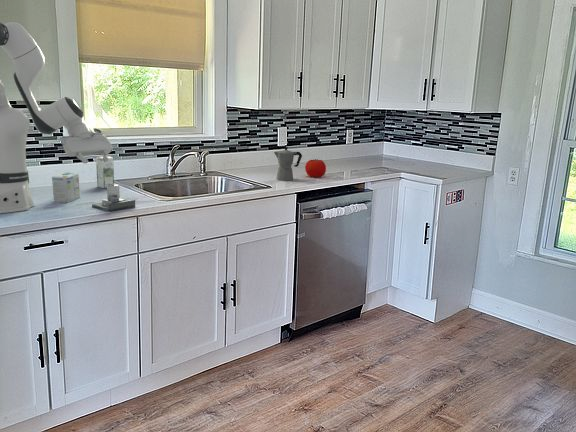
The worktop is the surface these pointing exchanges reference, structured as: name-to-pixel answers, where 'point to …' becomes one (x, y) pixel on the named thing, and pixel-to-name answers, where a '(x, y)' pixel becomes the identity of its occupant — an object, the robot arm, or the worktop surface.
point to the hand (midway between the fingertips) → (96, 161)
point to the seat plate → (115, 205)
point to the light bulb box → (66, 187)
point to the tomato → (315, 168)
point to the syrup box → (105, 172)
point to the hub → (112, 195)
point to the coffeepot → (286, 164)
